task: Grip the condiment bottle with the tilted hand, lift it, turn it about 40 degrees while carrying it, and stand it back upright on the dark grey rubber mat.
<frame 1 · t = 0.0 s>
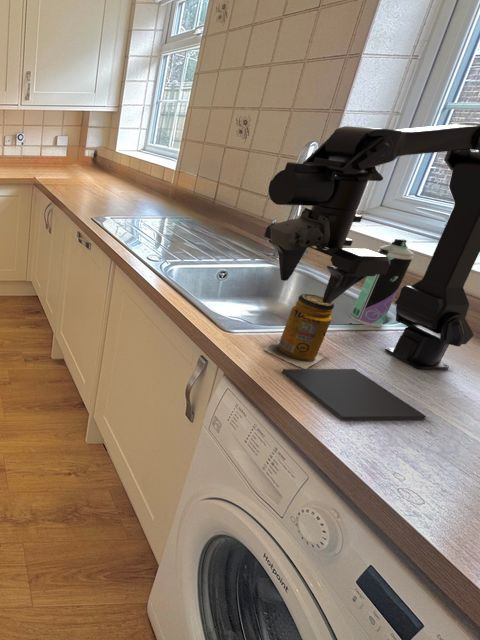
hand: (303, 290, 73), 15 cm above the worktop, tool pointing down, fingers open, 9 cm apart
mat: (347, 394, 69), on the worktop
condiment: (292, 354, 81), on the worktop
spray can: (365, 321, 95), on the worktop
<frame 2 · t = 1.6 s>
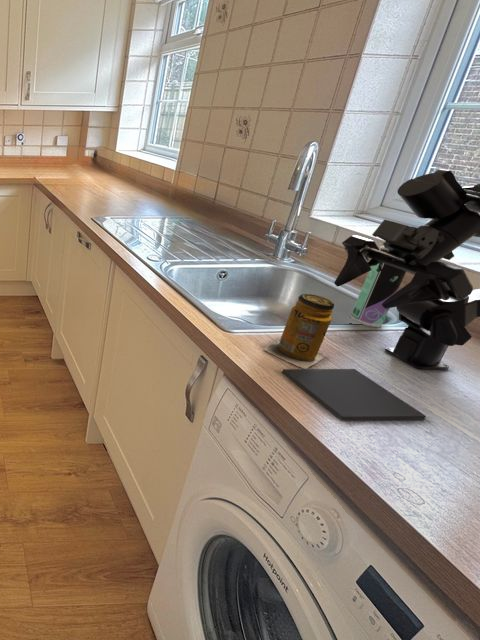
hand: (358, 295, 75), 13 cm above the worktop, tool tilted 45°, fingers open, 9 cm apart
nothing on the worktop moved.
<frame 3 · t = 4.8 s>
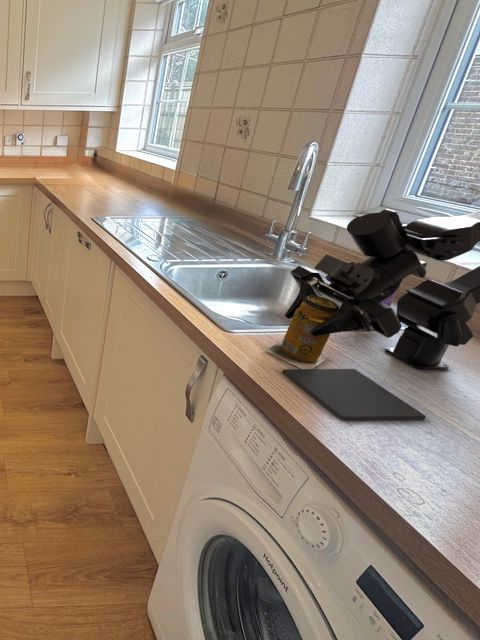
hand: (298, 325, 77), 7 cm above the worktop, tool tilted 45°, fingers closed on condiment, 6 cm apart
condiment: (294, 356, 80), on the worktop, touching gripper, mat
everything else where it was.
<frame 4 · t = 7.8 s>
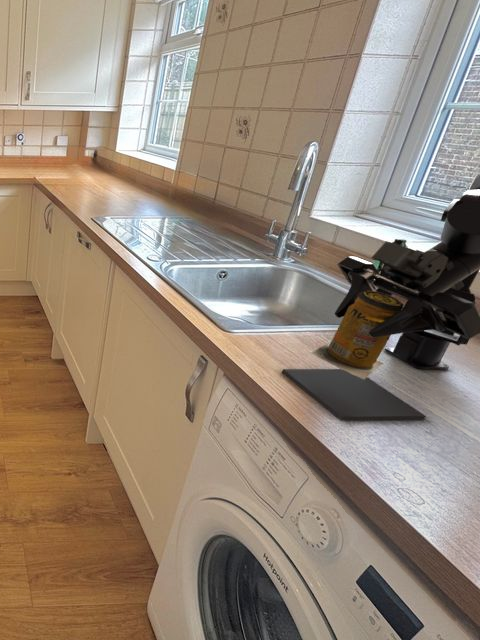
hand: (352, 324, 67), 12 cm above the worktop, tool tilted 45°, fingers closed on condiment, 6 cm apart
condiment: (345, 360, 69), point 5 cm above the worktop, touching gripper
everything else where it was.
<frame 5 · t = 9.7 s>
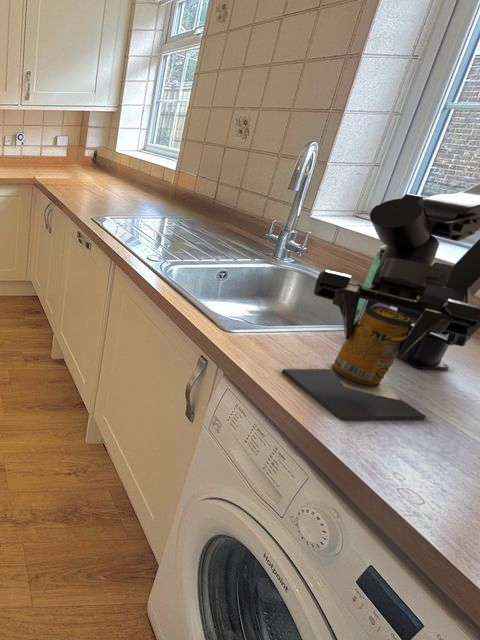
hand: (372, 346, 64), 11 cm above the worktop, tool tilted 45°, fingers closed on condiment, 6 cm apart
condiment: (356, 378, 67), point 4 cm above the worktop, touching gripper
everything else where it was.
when the fingers open (8 cm above the worktop, at t = 11.1 s): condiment stays where it is, resting on mat.
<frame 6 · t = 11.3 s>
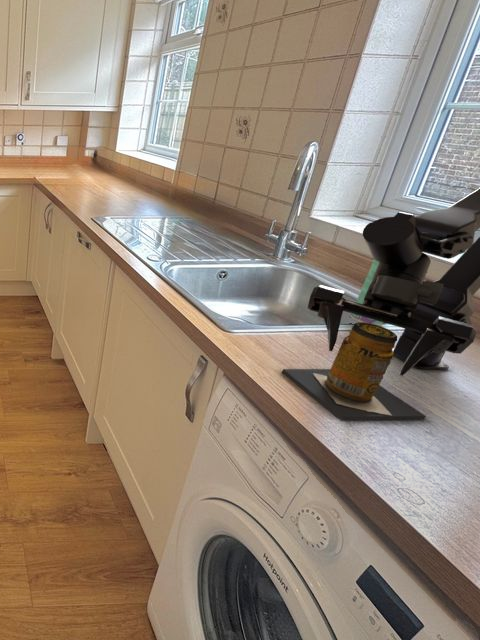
hand: (364, 362, 65), 8 cm above the worktop, tool tilted 45°, fingers open, 8 cm apart
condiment: (348, 394, 68), point 1 cm above the worktop, touching mat
everything else where it was.
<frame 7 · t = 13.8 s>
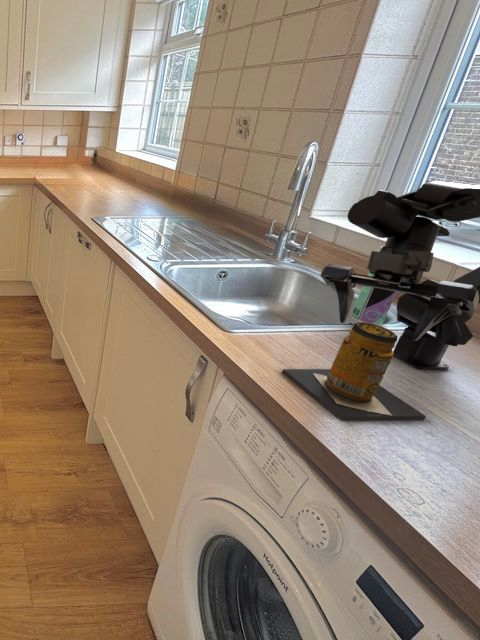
hand: (376, 330, 71), 10 cm above the worktop, tool tilted 35°, fingers open, 9 cm apart
nothing on the worktop moved.
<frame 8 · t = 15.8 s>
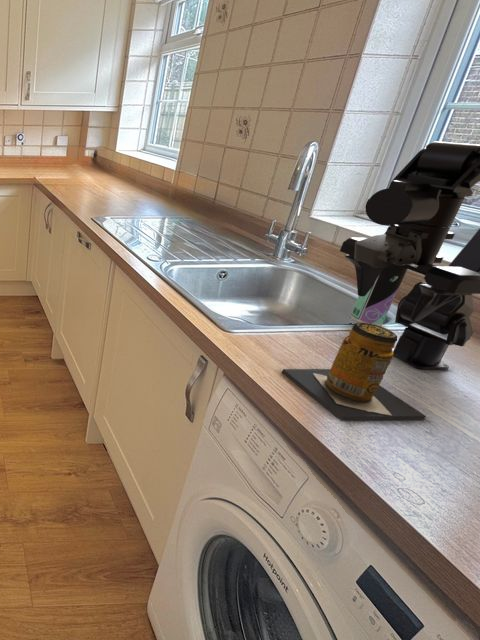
hand: (386, 307, 72), 13 cm above the worktop, tool pointing down, fingers open, 9 cm apart
nothing on the worktop moved.
at the end: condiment inside the target area (0.3 cm from its centre), point 0.6 cm above the worktop; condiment tilted 0°; the gripper is holding nothing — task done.
